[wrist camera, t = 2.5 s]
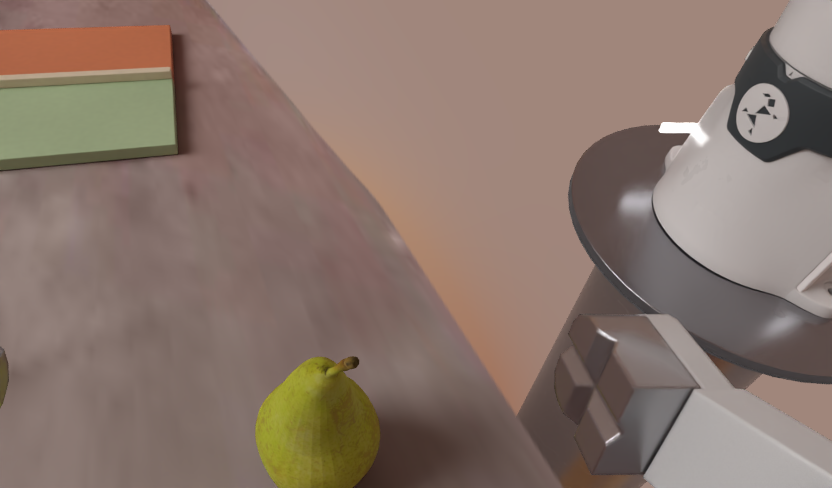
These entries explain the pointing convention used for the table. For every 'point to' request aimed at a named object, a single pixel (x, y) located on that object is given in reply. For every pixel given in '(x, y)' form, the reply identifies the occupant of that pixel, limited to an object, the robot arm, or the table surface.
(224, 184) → the table surface
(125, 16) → the table surface
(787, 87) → the robot arm
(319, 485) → the fruit
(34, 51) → the sorting board
